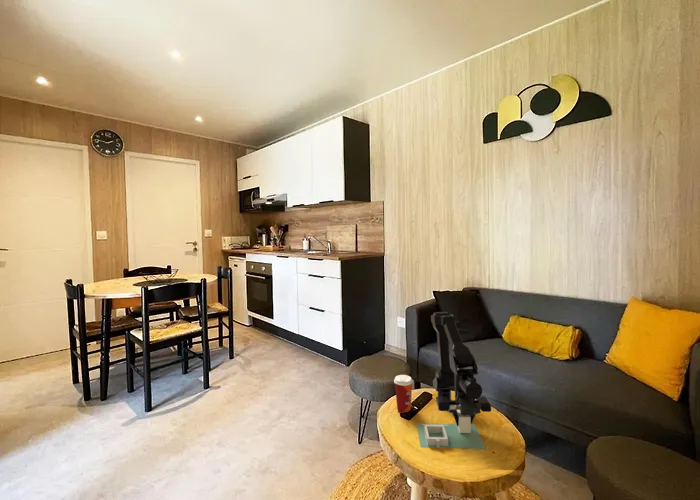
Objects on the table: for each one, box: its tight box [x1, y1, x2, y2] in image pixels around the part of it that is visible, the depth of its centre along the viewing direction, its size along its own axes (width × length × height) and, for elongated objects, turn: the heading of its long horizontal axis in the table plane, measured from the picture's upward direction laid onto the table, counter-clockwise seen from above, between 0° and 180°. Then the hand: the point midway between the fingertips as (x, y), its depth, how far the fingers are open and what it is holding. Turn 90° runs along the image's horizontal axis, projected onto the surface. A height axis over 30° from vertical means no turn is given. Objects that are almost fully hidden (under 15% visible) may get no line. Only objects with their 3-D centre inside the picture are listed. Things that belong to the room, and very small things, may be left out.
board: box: [416, 422, 487, 450], centre depth 121 cm, size 14×22×4 cm, turn 85°
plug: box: [456, 409, 471, 433], centre depth 123 cm, size 5×4×7 cm
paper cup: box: [393, 374, 413, 414], centre depth 140 cm, size 8×8×14 cm
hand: (463, 425), depth 123 cm, fingers closed on plug, 4 cm apart
